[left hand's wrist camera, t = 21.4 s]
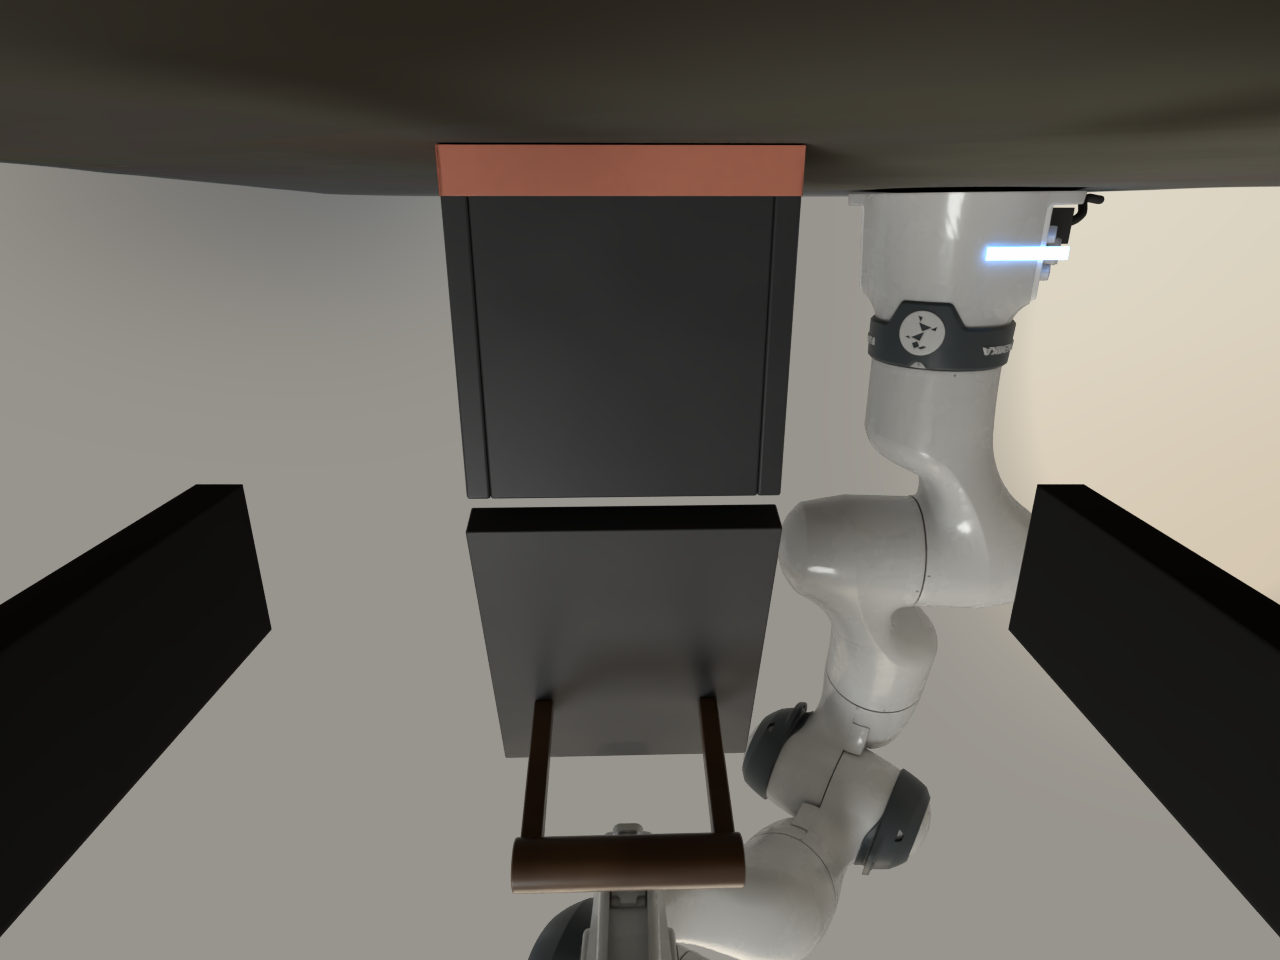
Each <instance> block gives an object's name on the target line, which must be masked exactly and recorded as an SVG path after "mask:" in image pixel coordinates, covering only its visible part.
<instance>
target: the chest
mask: <svg viewBox="0 0 1280 960" xmlns="http://www.w3.org/2000/svg"><path fill="white" fill-rule="evenodd" d="M435 151H436V163H437V174H438V185H439V196H441V207H442V218H443V230H444V241H445V252H446V264H447V275H448V286H449V298H450V309H451V320H452V332H453V343H454V355H455V366H456V377H457V389H458V400H459V412H460V423H461V434H462V446H463V457H464V469H465V480H466V491H467V497H468V498H469V499H487V498H490V496H491V497H492V498H572V497H660V496H747V495H756V494H758V495H779V494H780V492H781V477H782V463H783V449H784V434H785V420H786V406H787V392H788V378H789V363H790V349H791V335H792V321H793V306H794V292H795V278H796V264H797V249H798V235H799V221H800V207H801V196H802V194H803V180H804V166H805V151H806V145H500V144H435Z"/></svg>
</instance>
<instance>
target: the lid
mask: <svg viewBox="0 0 1280 960" xmlns="http://www.w3.org/2000/svg"><path fill="white" fill-rule="evenodd" d="M781 534H782V525H781V522H780V518H779V515H778V511H777V508H776V505H774V504H768V505H683V506H599V507H517V508H472V510H471V513H470V518H469V521H468V525H467V530H466V537H467V542H468V548H469V553H470V559H471V565H472V571H473V576H474V582H475V587H476V593H477V599H478V604H479V610H480V615H481V621H482V627H483V633H484V638H485V644H486V650H487V655H488V661H489V666H490V672H491V678H492V683H493V689H494V695H495V700H496V706H497V712H498V717H499V723H500V728H501V734H502V740H503V745H504V751H505V756H506V758H517V757H529V761H528V771H527V780H526V790H525V800H524V810H523V819H522V829H521V837H517V838H516V839H515V841H514V845H513V851H512V861H511V887H512V892H513V893H514V894H533V893H570V892H607V891H645V890H682V889H719V888H743V887H744V886H745V881H746V863H745V852H744V845H743V840H742V836H741V834H740V833H739V832H735V830H734V822H733V815H732V808H731V800H730V793H729V786H728V778H727V771H726V763H725V756H724V753H745V752H746V748H747V742H748V736H749V729H750V723H751V717H752V711H753V705H754V699H755V693H756V687H757V680H758V674H759V668H760V662H761V656H762V650H763V644H764V638H765V631H766V626H767V619H768V613H769V607H770V601H771V595H772V589H773V583H774V577H775V571H776V564H777V559H778V553H779V546H780V540H781ZM656 754H703V758H704V768H705V777H706V786H707V795H708V804H709V813H710V822H711V832H712V833H674V834H634V835H594V836H552V837H544V831H545V819H546V805H547V792H548V779H549V766H550V757H564V756H610V755H656Z"/></svg>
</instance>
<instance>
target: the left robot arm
mask: <svg viewBox="0 0 1280 960" xmlns="http://www.w3.org/2000/svg"><path fill="white" fill-rule="evenodd" d="M270 631H271V624H270V619H269V614H268V609H267V604H266V599H265V594H264V589H263V584H262V579H261V574H260V569H259V564H258V559H257V554H256V549H255V544H254V539H253V534H252V529H251V524H250V519H249V514H248V509H247V504H246V499H245V494H244V490H243V485H242V484H196V485H194V486H193V487H191V488H190V489H188V490H186V491H185V492H183V493H181V494H180V495H178V496H177V497H175V498H173V499H172V500H170V501H168V502H167V503H165V504H163V505H162V506H160V507H159V508H157V509H155V510H154V511H152V512H150V513H149V514H147V515H146V516H144V517H142V518H141V519H139V520H137V521H136V522H134V523H133V524H131V525H129V526H128V527H126V528H124V529H123V530H121V531H120V532H118V533H116V534H115V535H113V536H111V537H110V538H108V539H107V540H105V541H103V542H102V543H100V544H98V545H97V546H95V547H94V548H92V549H90V550H89V551H87V552H85V553H84V554H82V555H81V556H79V557H77V558H76V559H74V560H72V561H71V562H69V563H68V564H66V565H64V566H63V567H61V568H59V569H58V570H56V571H55V572H53V573H51V574H50V575H48V576H46V577H45V578H43V579H42V580H40V581H38V582H37V583H35V584H33V585H32V586H30V587H28V588H27V589H25V590H24V591H22V592H20V593H19V594H17V595H15V596H14V597H12V598H11V599H9V600H7V601H6V602H4V603H3V604H1V605H0V937H1V936H2V934H3V933H4V932H5V931H6V930H7V929H8V928H9V927H10V925H11V924H12V923H13V922H14V921H15V920H16V919H17V917H18V916H19V915H20V914H21V913H22V912H23V911H24V909H25V908H26V907H27V906H28V905H29V904H30V903H31V901H32V900H33V899H34V898H35V897H36V896H37V895H38V894H39V892H40V891H41V890H42V889H43V888H44V887H45V886H46V885H47V883H48V882H49V881H50V880H51V879H52V878H53V877H54V876H55V874H56V873H57V872H58V871H59V870H60V869H61V868H62V866H63V865H64V864H65V863H66V862H67V861H68V860H69V858H70V857H71V856H72V855H73V854H74V853H75V852H76V851H77V849H78V848H79V847H80V846H81V845H82V844H83V843H84V841H85V840H86V839H87V838H88V837H89V836H90V835H91V834H92V832H93V831H94V830H95V829H96V828H97V827H98V826H99V824H100V823H101V822H102V821H103V820H104V819H105V818H106V817H107V815H108V814H109V813H110V812H111V811H112V810H113V809H114V807H115V806H116V805H117V804H118V803H119V802H120V801H121V799H122V798H123V797H124V796H125V795H126V794H127V793H128V792H129V790H130V789H131V788H132V787H133V786H134V785H135V784H136V783H137V781H138V780H139V779H140V778H141V777H142V776H143V775H144V773H145V772H146V771H147V770H148V769H149V768H150V767H151V766H152V764H153V763H154V762H155V761H156V760H157V759H158V758H159V756H160V755H161V754H162V753H163V752H164V751H165V750H166V748H167V747H168V746H169V745H170V744H171V743H172V742H173V741H174V739H175V738H176V737H177V736H178V735H179V734H180V733H181V732H182V730H183V729H184V728H185V727H186V726H187V725H188V724H189V722H190V721H191V720H192V719H193V718H194V717H195V716H196V714H197V713H198V712H199V711H200V710H201V709H202V708H203V707H204V705H205V704H206V703H207V702H208V701H209V700H210V699H211V698H212V696H213V695H214V694H215V693H216V692H217V691H218V690H219V688H220V687H221V686H222V685H223V684H224V683H225V682H226V680H227V679H228V678H229V677H230V676H231V675H232V674H233V673H234V671H235V670H236V669H237V668H238V667H239V666H240V665H241V663H242V662H243V661H244V660H245V659H246V658H247V657H248V656H249V654H250V653H251V652H252V651H253V650H254V649H255V648H256V646H257V645H258V644H259V643H260V642H261V641H262V640H263V638H264V637H265V636H266V635H267V634H268V633H269V632H270ZM1009 631H1010V632H1011V633H1012V634H1013V635H1014V636H1015V637H1016V639H1017V640H1018V641H1019V642H1020V643H1021V644H1022V645H1023V646H1024V648H1025V649H1026V650H1027V651H1028V652H1029V653H1030V654H1031V655H1032V657H1033V658H1034V659H1035V660H1036V661H1037V662H1038V663H1039V665H1040V666H1041V667H1042V668H1043V669H1044V670H1045V671H1046V673H1047V674H1048V675H1049V676H1050V677H1051V678H1052V679H1053V680H1054V682H1055V683H1056V684H1057V685H1058V686H1059V687H1060V688H1061V690H1062V691H1063V692H1064V693H1065V694H1066V695H1067V696H1068V698H1069V699H1070V700H1071V701H1072V702H1073V703H1074V704H1075V705H1076V707H1077V708H1078V709H1079V710H1080V711H1081V712H1082V713H1083V714H1084V716H1085V717H1086V718H1087V719H1088V720H1089V721H1090V722H1091V724H1092V725H1093V726H1094V727H1095V728H1096V729H1097V730H1098V732H1099V733H1100V734H1101V735H1102V736H1103V737H1104V738H1105V739H1106V741H1107V742H1108V743H1109V744H1110V745H1111V746H1112V747H1113V749H1114V750H1115V751H1116V752H1117V753H1118V754H1119V755H1120V756H1121V758H1122V759H1123V760H1124V761H1125V762H1126V763H1127V764H1128V766H1129V767H1130V768H1131V769H1132V770H1133V771H1134V772H1135V773H1136V775H1137V776H1138V777H1139V778H1140V779H1141V780H1142V781H1143V783H1144V784H1145V785H1146V786H1147V787H1148V788H1149V789H1150V790H1151V792H1152V793H1153V794H1154V795H1155V796H1156V797H1157V798H1158V800H1159V801H1160V802H1161V803H1162V804H1163V805H1164V806H1165V807H1166V809H1167V810H1168V811H1169V812H1170V813H1171V814H1172V815H1173V817H1174V818H1175V819H1176V820H1177V821H1178V822H1179V823H1180V824H1181V826H1182V827H1183V828H1184V829H1185V830H1186V831H1187V832H1188V834H1189V835H1190V836H1191V837H1192V838H1193V839H1194V840H1195V841H1196V843H1197V844H1198V845H1199V846H1200V847H1201V848H1202V849H1203V850H1204V852H1205V853H1206V854H1207V855H1208V856H1209V857H1210V858H1211V860H1212V861H1213V862H1214V863H1215V864H1216V865H1217V866H1218V868H1219V869H1220V870H1221V871H1222V872H1223V873H1224V874H1225V875H1226V877H1227V878H1228V879H1229V880H1230V881H1231V882H1232V883H1233V885H1234V886H1235V887H1236V888H1237V889H1238V890H1239V891H1240V892H1241V894H1242V895H1243V896H1244V897H1245V898H1246V899H1247V900H1248V902H1249V903H1250V904H1251V905H1252V906H1253V907H1254V908H1255V910H1256V911H1257V912H1258V913H1259V914H1260V915H1261V916H1262V917H1263V919H1264V920H1265V921H1266V922H1267V923H1268V924H1269V925H1270V926H1271V928H1272V929H1273V930H1274V931H1275V932H1276V933H1277V934H1278V936H1279V937H1280V605H1279V604H1278V603H1276V602H1274V601H1273V600H1271V599H1269V598H1268V597H1266V596H1265V595H1263V594H1261V593H1260V592H1258V591H1256V590H1255V589H1253V588H1252V587H1250V586H1248V585H1247V584H1245V583H1243V582H1242V581H1240V580H1238V579H1237V578H1235V577H1234V576H1232V575H1230V574H1229V573H1227V572H1225V571H1224V570H1222V569H1221V568H1219V567H1217V566H1216V565H1214V564H1213V563H1211V562H1209V561H1208V560H1206V559H1204V558H1203V557H1201V556H1199V555H1198V554H1196V553H1195V552H1193V551H1191V550H1190V549H1188V548H1186V547H1185V546H1183V545H1182V544H1180V543H1178V542H1177V541H1175V540H1173V539H1172V538H1170V537H1169V536H1167V535H1165V534H1164V533H1162V532H1160V531H1159V530H1157V529H1156V528H1154V527H1152V526H1151V525H1149V524H1147V523H1146V522H1144V521H1143V520H1141V519H1139V518H1138V517H1136V516H1134V515H1133V514H1131V513H1130V512H1128V511H1126V510H1125V509H1123V508H1121V507H1120V506H1118V505H1117V504H1115V503H1113V502H1112V501H1110V500H1108V499H1107V498H1105V497H1103V496H1102V495H1100V494H1099V493H1097V492H1095V491H1094V490H1092V489H1090V488H1089V487H1087V486H1086V485H1084V484H1038V485H1037V489H1036V494H1035V499H1034V504H1033V509H1032V514H1031V519H1030V524H1029V529H1028V534H1027V539H1026V544H1025V549H1024V554H1023V559H1022V564H1021V569H1020V574H1019V579H1018V584H1017V589H1016V594H1015V599H1014V604H1013V609H1012V614H1011V619H1010V624H1009Z"/></svg>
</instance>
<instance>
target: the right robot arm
mask: <svg viewBox="0 0 1280 960" xmlns="http://www.w3.org/2000/svg"><path fill="white" fill-rule="evenodd" d="M848 197H849V205H854V206H862V227H861V251H860V281H859V283H860V288H861V289H862V290H863V292H864V293H865V294H866V295H867V296H868V298H869V299H870V301H871V303H872V305H873V308H874V311H875V315H874V316H873V317H872V318H871V322H870V331H869V333H868V342H869V345H868V354H869V355H870V356H871V357H872V362H871V371H870V381H869V390H868V399H867V408H866V417H865V429H866V433H867V436H868V438H869V441H870V442H871V444H872V445H873V447H874V448H875V449H876V450H877V451H878V452H879V453H880V454H882V455H883V456H884V457H886V458H887V459H889V460H891V461H892V462H894V463H896V464H897V465H899V466H901V467H903V468H905V469H907V470H909V471H911V472H913V473H915V474H917V475H919V487H918V491H917V493H916V494H915V495H910V496H882V495H838V496H831V497H825V498H819V499H814V500H808V501H803V502H800V503H798V504H797V505H796V506H795V507H794V508H793V509H792V510H791V511H790V513H789V514H788V515H787V517H786V519H785V520H784V522H783V524H782V534H781V540H780V546H779V553H778V559H779V563H780V566H781V569H782V572H783V574H784V576H785V578H786V579H787V581H788V582H789V584H790V585H791V586H792V587H793V589H794V590H795V591H796V592H797V593H798V594H800V595H802V596H804V597H806V598H808V599H810V600H811V601H813V602H814V603H816V604H817V605H818V606H819V607H821V608H822V609H823V610H824V612H825V613H826V614H827V615H828V617H829V618H830V621H831V638H830V645H829V650H828V655H827V660H826V666H825V673H824V683H823V692H822V697H821V700H820V703H819V705H818V707H817V709H816V710H815V711H814V712H813V711H812V712H806V711H807V704H806V703H805V702H799V703H798V704H797V705H796V706H795V708H786V709H781V710H778V711H776V712H773V713H772V714H770V715H768V716H766V717H765V718H764V719H763V720H762V722H761V723H760V724H759V725H758V726H757V727H756V728H755V729H754V731H753V732H752V733H751V735H750V737H749V739H748V742H747V748H746V752H745V753H744V762H743V767H742V771H743V775H744V780H745V781H746V783H747V784H748V785H749V786H750V787H751V788H752V789H753V790H754V791H755V792H756V793H757V794H759V795H760V796H761V797H762V798H764V799H767V798H768V799H770V800H771V801H772V802H774V803H775V804H776V805H777V806H779V807H780V808H782V809H783V810H784V811H786V812H787V813H789V814H790V815H792V816H793V818H786V819H783V820H779V821H777V822H775V823H772V824H770V825H768V826H767V827H765V828H763V829H762V830H760V831H759V832H758V833H756V834H755V835H754V836H753V837H752V838H750V839H749V840H748V841H747V842H746V843H745V845H744V852H745V863H746V881H745V886H744V887H743V888H719V889H682V890H645V891H607V892H594V898H589V899H586V900H583V901H581V902H578V903H576V904H574V905H572V906H570V907H568V908H567V909H565V910H564V911H562V912H561V913H559V914H558V915H557V916H555V917H554V918H553V919H552V920H551V921H550V922H549V923H548V925H547V926H546V927H545V928H544V930H543V931H542V933H541V934H540V936H539V938H538V939H537V941H536V943H535V945H534V947H533V949H532V951H531V954H530V956H529V959H528V960H711V959H709V958H707V957H705V956H703V955H701V954H699V953H697V952H695V951H692V950H690V949H688V948H685V947H683V946H681V945H679V944H677V943H687V944H692V945H697V946H700V947H704V948H707V949H711V950H714V951H717V952H719V953H722V954H725V955H727V956H730V957H733V958H735V959H738V960H803V959H804V958H806V957H807V956H808V955H809V954H811V953H812V952H813V951H814V950H815V948H816V947H817V946H818V944H819V943H820V942H821V940H822V938H823V937H824V935H825V933H826V931H827V929H828V927H829V925H830V923H831V921H832V918H833V916H834V913H835V910H836V907H837V904H838V900H839V896H840V891H841V885H842V881H843V877H844V874H845V872H846V870H847V867H848V866H849V865H850V864H853V863H854V865H864V870H863V872H862V874H863V875H869V872H870V870H871V869H890V868H893V867H895V866H898V865H900V864H902V863H904V862H906V861H907V859H908V857H910V856H911V855H912V854H914V853H915V852H916V851H917V850H918V848H919V847H920V846H921V845H922V843H923V841H924V840H925V838H926V835H927V833H928V830H929V825H930V805H929V801H930V796H929V793H928V790H927V787H926V786H925V785H924V784H923V783H922V782H921V781H919V780H918V779H917V778H916V777H914V776H913V775H912V774H911V773H909V772H908V771H906V770H905V769H902V770H899V769H898V768H897V767H895V766H894V765H892V764H891V763H889V762H888V761H886V760H884V759H883V758H881V757H880V756H878V755H876V754H875V753H873V752H871V751H870V750H868V749H867V748H869V749H874V748H879V747H882V746H885V745H887V744H889V743H890V742H891V741H892V740H894V739H895V738H896V737H897V735H898V734H899V733H900V732H901V731H902V729H903V728H904V727H905V725H906V724H907V722H908V721H909V719H910V717H911V716H912V714H913V712H914V710H915V708H916V706H917V704H918V702H919V700H920V697H921V695H922V692H923V689H924V686H925V683H926V681H927V678H928V675H929V672H930V669H931V667H932V664H933V661H934V658H935V655H936V652H937V636H936V631H935V628H934V626H933V624H932V622H931V621H930V619H929V617H928V616H927V615H926V614H925V613H924V612H923V610H922V609H921V608H920V607H919V606H927V607H956V608H983V607H990V606H997V605H1003V604H1009V603H1014V599H1015V594H1016V589H1017V584H1018V579H1019V574H1020V569H1021V564H1022V559H1023V554H1024V549H1025V544H1026V539H1027V534H1028V529H1029V524H1030V519H1031V513H1030V512H1029V511H1028V510H1027V509H1026V508H1024V507H1023V506H1022V505H1021V504H1019V503H1018V502H1017V501H1016V500H1015V499H1014V498H1013V497H1012V495H1011V494H1010V493H1009V492H1008V490H1007V489H1006V487H1005V486H1004V484H1003V482H1002V480H1001V478H1000V476H999V473H998V470H997V467H996V463H995V459H994V454H993V427H994V416H995V407H996V399H997V392H998V385H999V378H1000V372H1001V367H1002V366H1003V365H1004V364H1006V363H1007V361H1008V357H1009V352H1010V350H1011V349H1012V345H1013V341H1014V340H1013V335H1014V331H1015V326H1016V323H1015V321H1014V320H1013V317H1014V316H1015V315H1016V313H1017V312H1018V311H1019V310H1020V309H1022V308H1023V307H1024V306H1026V305H1028V304H1029V303H1030V301H1032V300H1034V299H1036V295H1037V290H1038V285H1039V280H1042V281H1044V280H1048V277H1049V273H1050V265H1055V264H1057V262H1058V260H1067V259H1068V253H1069V248H1070V247H1066V246H1065V247H1061V244H1067V243H1068V240H1069V235H1070V229H1071V226H1072V225H1074V224H1076V223H1078V222H1079V221H1081V220H1082V219H1083V218H1084V217H1085V216H1086V214H1087V202H1090V203H1095V204H1101V203H1102V202H1103V201H1104V197H1103V196H1100V195H1095V194H1087V191H1016V192H935V193H874V194H848ZM1065 204H1078V212H1077V214H1076V215H1074V216H1073V214H1074V208H1053V205H1065ZM634 834H652V833H650V832H646V831H643V828H642V826H641V825H639V824H636V823H627V824H617V825H615V826H614V828H613V832H608V833H606V834H605V835H634Z"/></svg>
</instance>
